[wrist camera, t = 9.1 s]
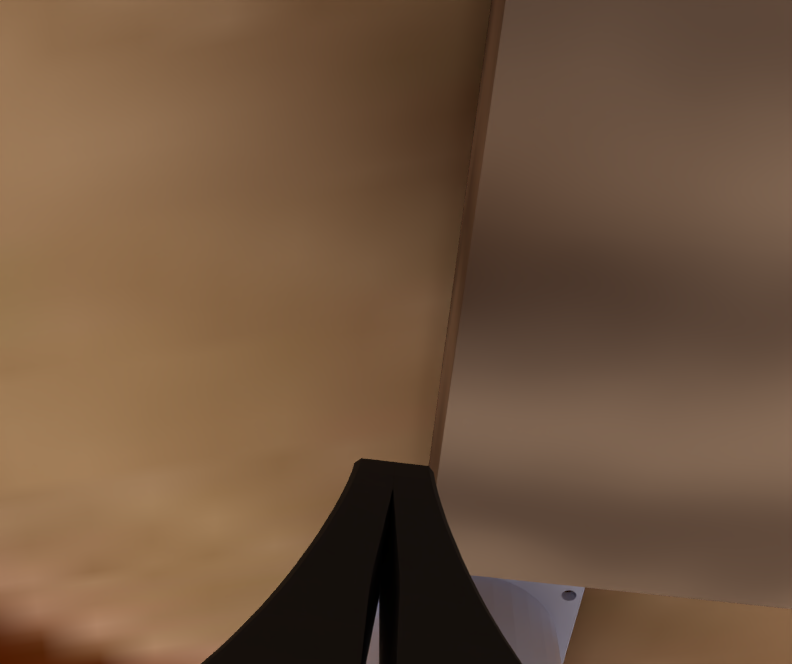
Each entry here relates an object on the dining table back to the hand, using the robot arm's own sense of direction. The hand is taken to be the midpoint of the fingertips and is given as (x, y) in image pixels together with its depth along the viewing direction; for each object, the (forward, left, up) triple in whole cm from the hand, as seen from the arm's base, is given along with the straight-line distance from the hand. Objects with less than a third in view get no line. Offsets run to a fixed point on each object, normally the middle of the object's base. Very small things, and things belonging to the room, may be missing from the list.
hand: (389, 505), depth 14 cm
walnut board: (+2, -7, -9) cm, 12 cm away
